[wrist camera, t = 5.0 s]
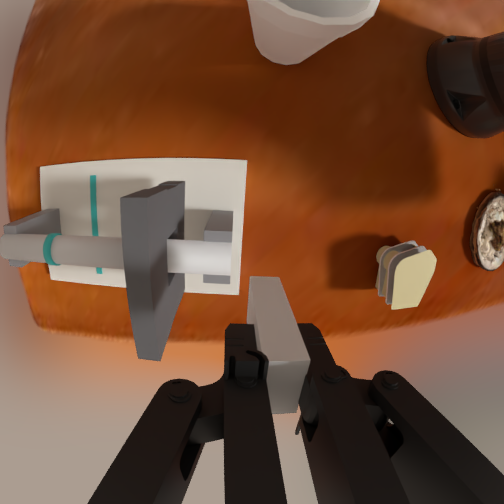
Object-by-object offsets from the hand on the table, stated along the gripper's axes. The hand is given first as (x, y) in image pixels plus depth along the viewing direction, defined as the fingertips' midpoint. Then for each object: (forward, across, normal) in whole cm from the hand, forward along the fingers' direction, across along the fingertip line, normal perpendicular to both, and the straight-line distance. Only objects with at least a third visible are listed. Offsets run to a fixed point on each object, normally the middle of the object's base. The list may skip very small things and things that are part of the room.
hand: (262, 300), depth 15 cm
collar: (+11, -7, 0) cm, 13 cm away
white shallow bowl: (+16, +38, +3) cm, 42 cm away
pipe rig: (+16, -12, 0) cm, 20 cm away
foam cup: (+16, +2, +21) cm, 26 cm away
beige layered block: (+16, +18, -3) cm, 24 cm away
